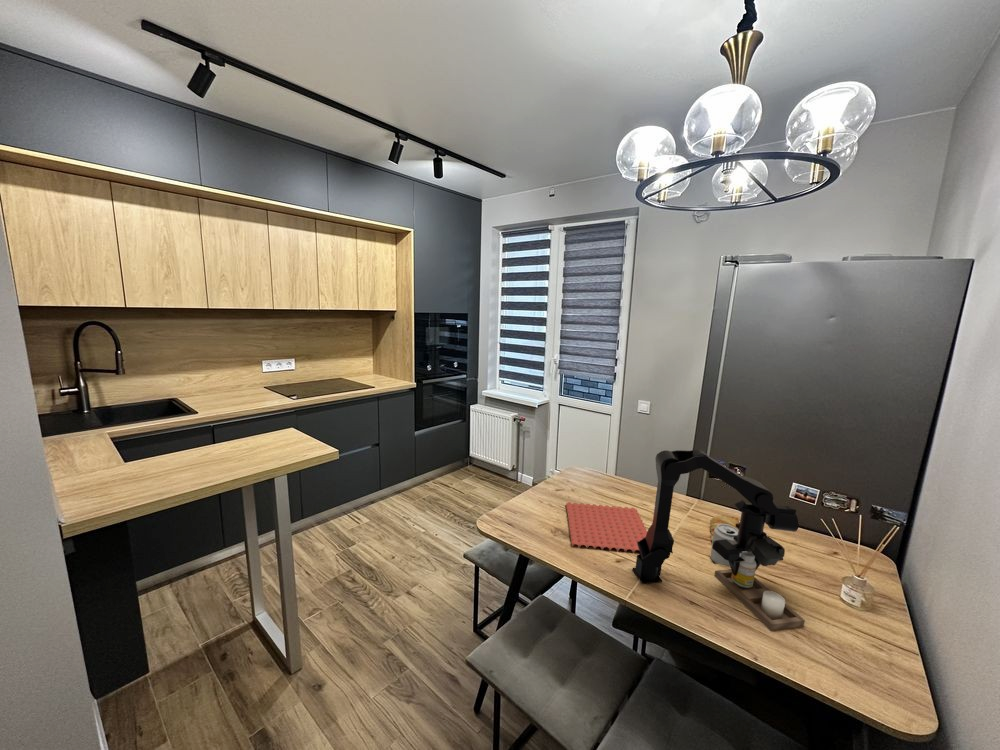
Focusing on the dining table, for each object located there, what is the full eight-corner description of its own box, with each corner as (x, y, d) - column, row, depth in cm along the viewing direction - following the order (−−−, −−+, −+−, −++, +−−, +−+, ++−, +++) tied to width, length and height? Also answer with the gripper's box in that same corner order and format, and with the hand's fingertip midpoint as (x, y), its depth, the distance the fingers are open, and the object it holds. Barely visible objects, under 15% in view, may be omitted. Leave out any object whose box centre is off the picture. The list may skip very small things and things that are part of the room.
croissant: (720, 557, 133) (735, 545, 128) (695, 533, 138) (709, 520, 134) (740, 534, 146) (754, 522, 142) (717, 513, 152) (730, 500, 148)
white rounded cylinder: (771, 621, 100) (774, 605, 99) (756, 607, 105) (758, 591, 104) (786, 619, 101) (790, 603, 100) (771, 605, 105) (774, 589, 104)
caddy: (769, 634, 97) (771, 624, 97) (713, 579, 117) (715, 570, 116) (802, 630, 99) (805, 620, 98) (742, 576, 118) (743, 567, 118)
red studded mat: (635, 512, 154) (636, 507, 154) (656, 557, 127) (657, 551, 127) (565, 506, 157) (566, 501, 157) (571, 549, 130) (571, 543, 129)
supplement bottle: (732, 572, 116) (737, 543, 114) (753, 581, 113) (759, 551, 111) (729, 582, 112) (734, 552, 110) (751, 591, 109) (757, 560, 107)
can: (723, 571, 120) (728, 537, 118) (704, 556, 128) (709, 523, 125) (741, 567, 122) (747, 534, 120) (722, 553, 130) (727, 520, 127)
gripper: (745, 545, 100) (736, 597, 102) (805, 540, 103) (795, 591, 106) (714, 521, 110) (707, 569, 113) (770, 517, 114) (761, 564, 117)
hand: (742, 573), depth 112 cm, fingers closed on supplement bottle, 5 cm apart
